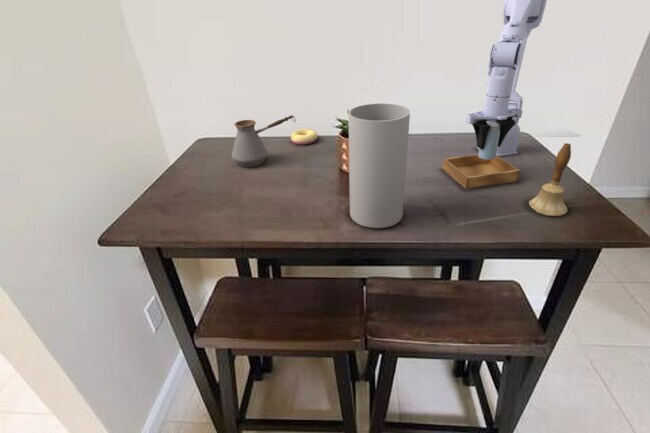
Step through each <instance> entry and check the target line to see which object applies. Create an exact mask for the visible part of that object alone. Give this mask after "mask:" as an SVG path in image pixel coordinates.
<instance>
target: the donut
mask: <svg viewBox="0 0 650 433" xmlns="http://www.w3.org/2000/svg"><path fill="white" fill-rule="evenodd" d="M317 139H318V133H317V131H315V130H314V129H311V128H300V129H297V130H294V131H293V132H292V133H291V135H290V140H291V142H292V143H293V144H295V145H299V146H300V145H302V146H303V145H310V144H313V143H314V142H315V141H317Z"/></svg>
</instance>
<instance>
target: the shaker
mask: <svg viewBox="0 0 650 433" xmlns="http://www.w3.org/2000/svg"><path fill="white" fill-rule="evenodd" d="M486 123H487V124H488V125H490V126H491V127H490V129H489V131H488V134H487V137H486V141H485V146H484V148H483V149H480V148H479V149H478V153H477V154H478V157H479V158H481V159H486V160H492V159H495V157H496V152H497V147H498V142H499V137H500V132H501V129H500V126H501V124H500V123H497V122H486Z"/></svg>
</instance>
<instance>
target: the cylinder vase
mask: <svg viewBox="0 0 650 433" xmlns="http://www.w3.org/2000/svg"><path fill="white" fill-rule="evenodd" d="M347 115H348V173H349V174H348V175H349V176H348V177H349V178H348V179H349V180H348V182H349V216H350V218H351V219H352V221H353V222H354V223H356V224H357V225H359V226H361V227H365V228H370V229H386V228H390V227H392V226H395V225H397V224H398V223H399V222H400V221H401V220H402V218H403V216H404V205H405V192H406V191H405V189H406V176H407V162H408V149H409V148H408V147H409V134H410V133H409V132H410V116H411V111H410V109H409V108H408V107H406V106H403V105H399V104H394V103H367V104H361V105H357V106H354V107H351V108H350V109H349V111H348V114H347Z"/></svg>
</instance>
